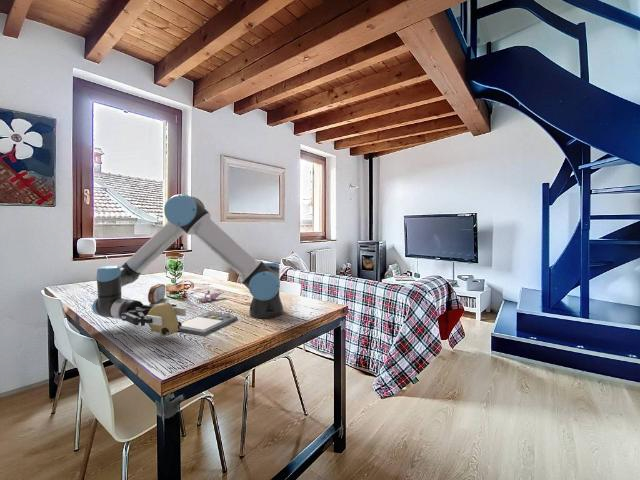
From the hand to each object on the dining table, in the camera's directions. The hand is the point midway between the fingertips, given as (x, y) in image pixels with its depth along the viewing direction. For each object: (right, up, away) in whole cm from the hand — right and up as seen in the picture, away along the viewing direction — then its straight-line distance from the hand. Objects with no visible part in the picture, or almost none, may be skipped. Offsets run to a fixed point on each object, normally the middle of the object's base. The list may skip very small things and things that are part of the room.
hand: (173, 316), depth 108 cm
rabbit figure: (-6, -5, +55) cm, 56 cm away
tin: (-33, -5, +52) cm, 62 cm away
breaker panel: (+4, -7, +18) cm, 20 cm away
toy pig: (-4, -6, +2) cm, 8 cm away
